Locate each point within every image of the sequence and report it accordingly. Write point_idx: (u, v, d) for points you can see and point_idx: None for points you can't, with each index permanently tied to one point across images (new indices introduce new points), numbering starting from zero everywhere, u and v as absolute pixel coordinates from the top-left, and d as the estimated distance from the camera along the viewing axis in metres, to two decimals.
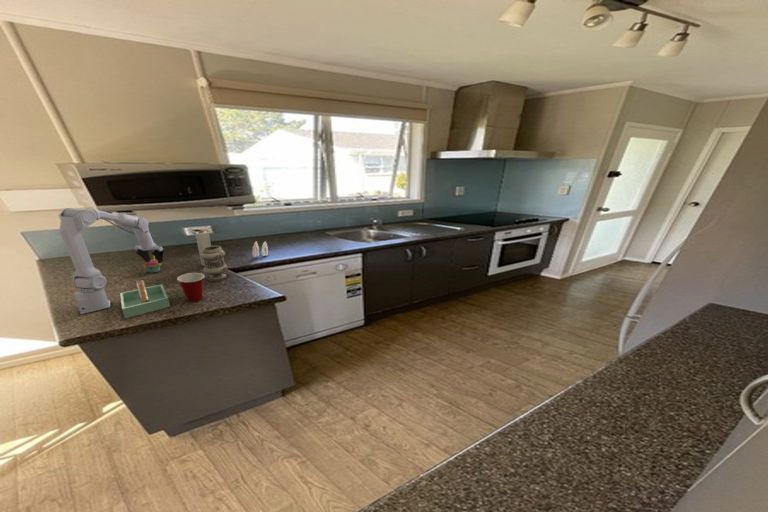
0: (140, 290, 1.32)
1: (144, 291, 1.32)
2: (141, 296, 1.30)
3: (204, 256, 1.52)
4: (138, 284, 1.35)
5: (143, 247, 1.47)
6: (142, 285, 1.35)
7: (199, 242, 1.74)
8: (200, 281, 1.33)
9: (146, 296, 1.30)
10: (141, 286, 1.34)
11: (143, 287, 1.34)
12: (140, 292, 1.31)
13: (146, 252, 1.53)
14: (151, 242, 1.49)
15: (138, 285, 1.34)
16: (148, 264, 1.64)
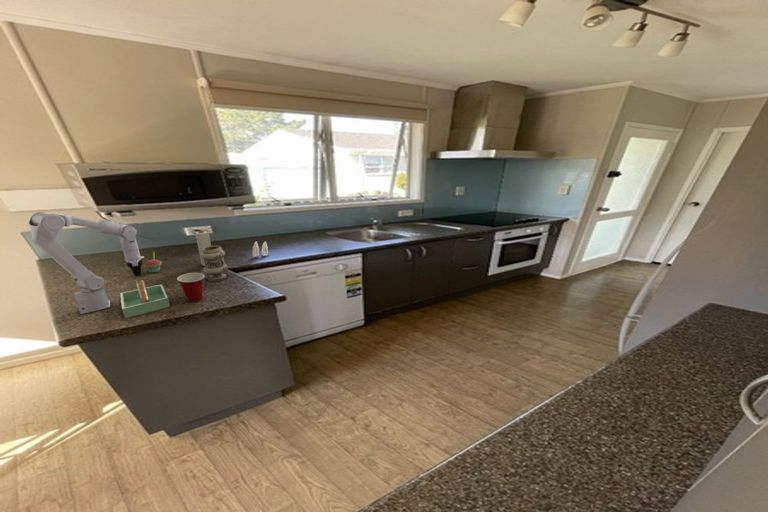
0: (140, 290, 1.32)
1: (144, 291, 1.32)
2: (141, 296, 1.30)
3: (204, 256, 1.52)
4: (138, 284, 1.35)
5: (125, 257, 1.35)
6: (142, 285, 1.35)
7: (199, 242, 1.74)
8: (200, 281, 1.33)
9: (146, 296, 1.30)
10: (141, 286, 1.34)
11: (143, 287, 1.34)
12: (140, 292, 1.31)
13: (137, 265, 1.40)
14: (132, 254, 1.35)
15: (138, 285, 1.34)
16: (148, 264, 1.64)
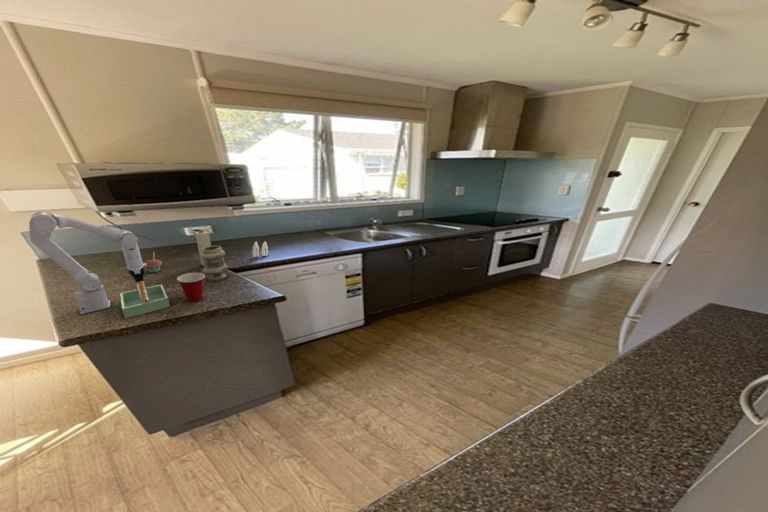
0: (140, 291, 1.32)
1: (144, 292, 1.32)
2: (141, 297, 1.29)
3: (204, 256, 1.52)
4: (138, 285, 1.34)
5: (127, 265, 1.32)
6: (142, 286, 1.34)
7: (199, 242, 1.74)
8: (200, 281, 1.33)
9: (146, 297, 1.30)
10: (141, 286, 1.34)
11: (143, 288, 1.34)
12: (140, 293, 1.31)
13: (140, 273, 1.37)
14: (135, 262, 1.32)
15: (138, 286, 1.34)
16: (148, 264, 1.64)
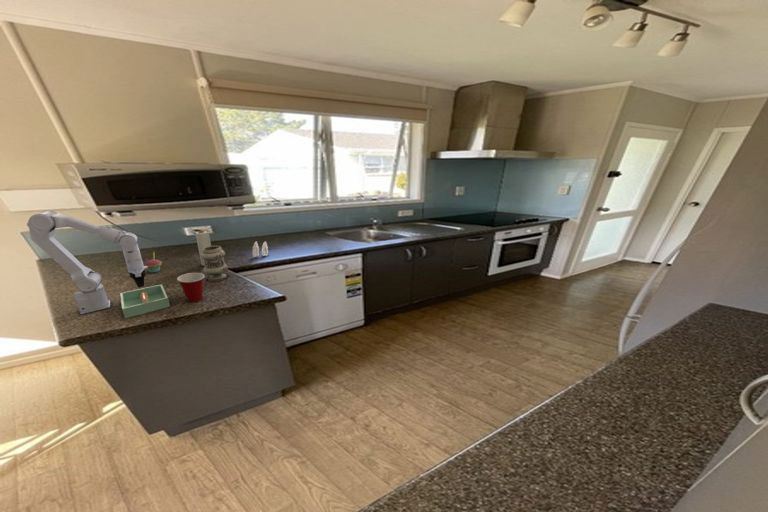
0: (142, 297, 1.31)
1: (146, 297, 1.31)
2: (142, 300, 1.28)
3: (204, 256, 1.52)
4: (141, 293, 1.34)
5: None
6: (145, 293, 1.34)
7: (199, 242, 1.74)
8: (200, 281, 1.33)
9: (147, 300, 1.29)
10: (143, 294, 1.33)
11: (145, 295, 1.33)
12: (142, 298, 1.30)
13: (140, 276, 1.33)
14: (135, 264, 1.29)
15: (140, 294, 1.34)
16: (148, 264, 1.64)
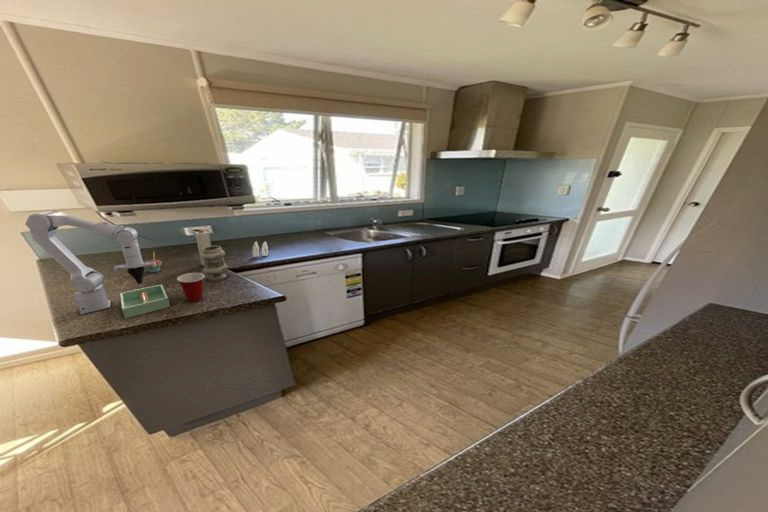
0: (142, 297, 1.31)
1: (146, 297, 1.31)
2: (142, 300, 1.28)
3: (204, 256, 1.52)
4: (141, 293, 1.34)
5: (133, 264, 1.26)
6: (144, 293, 1.34)
7: (199, 242, 1.74)
8: (200, 281, 1.33)
9: (147, 300, 1.29)
10: (143, 294, 1.33)
11: (145, 295, 1.33)
12: (142, 298, 1.30)
13: None
14: (141, 258, 1.29)
15: (140, 294, 1.34)
16: None
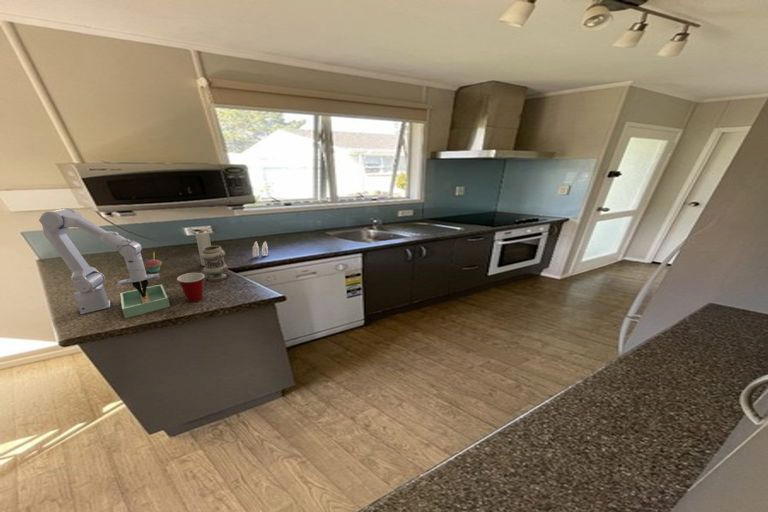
0: (142, 297, 1.31)
1: (146, 297, 1.31)
2: (143, 300, 1.28)
3: (204, 256, 1.52)
4: None
5: (139, 277, 1.27)
6: None
7: (199, 242, 1.74)
8: (200, 281, 1.33)
9: (148, 300, 1.29)
10: None
11: (146, 295, 1.33)
12: (142, 298, 1.30)
13: None
14: None
15: None
16: (148, 264, 1.64)
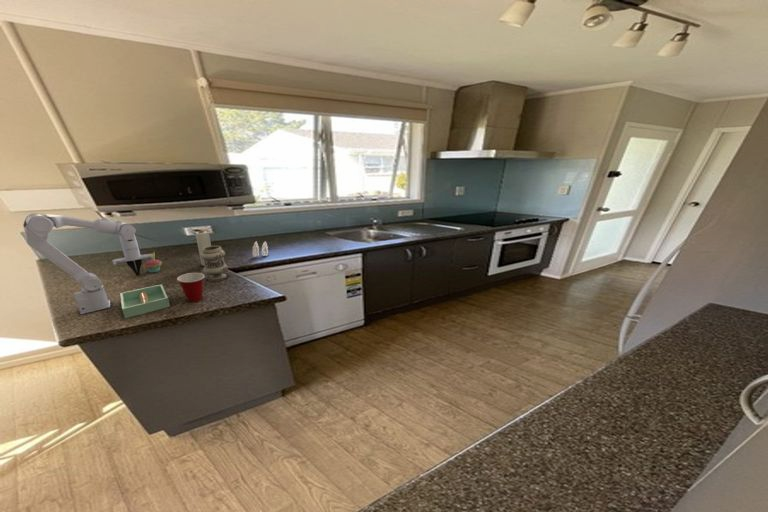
0: (141, 297, 1.31)
1: (145, 297, 1.31)
2: (141, 301, 1.28)
3: (204, 256, 1.52)
4: (140, 294, 1.34)
5: (133, 256, 1.32)
6: (143, 294, 1.34)
7: (199, 242, 1.74)
8: (200, 281, 1.33)
9: (146, 300, 1.28)
10: (142, 294, 1.33)
11: (144, 295, 1.33)
12: (141, 298, 1.30)
13: None
14: None
15: (139, 295, 1.33)
16: (148, 264, 1.64)
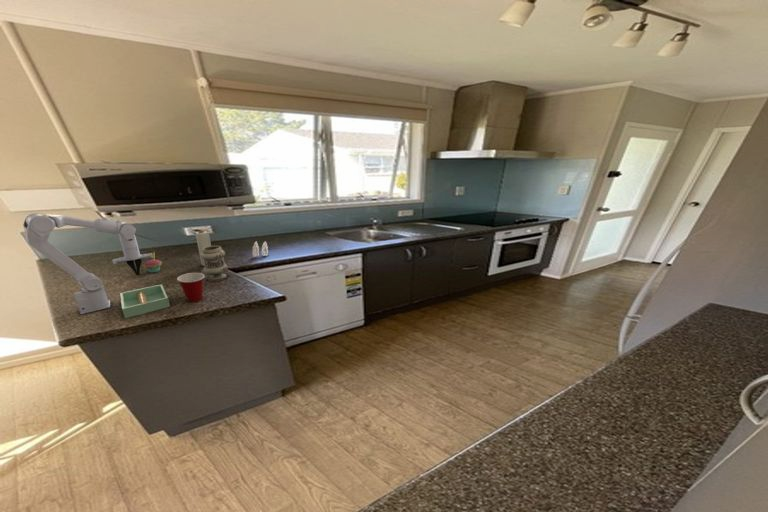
0: (138, 299, 1.30)
1: (141, 298, 1.30)
2: (139, 302, 1.27)
3: (204, 256, 1.52)
4: (137, 295, 1.33)
5: (133, 256, 1.33)
6: (140, 294, 1.33)
7: (199, 242, 1.74)
8: (200, 281, 1.33)
9: (143, 300, 1.27)
10: (139, 295, 1.32)
11: (141, 295, 1.32)
12: (138, 300, 1.29)
13: None
14: None
15: (137, 296, 1.33)
16: (148, 264, 1.64)
